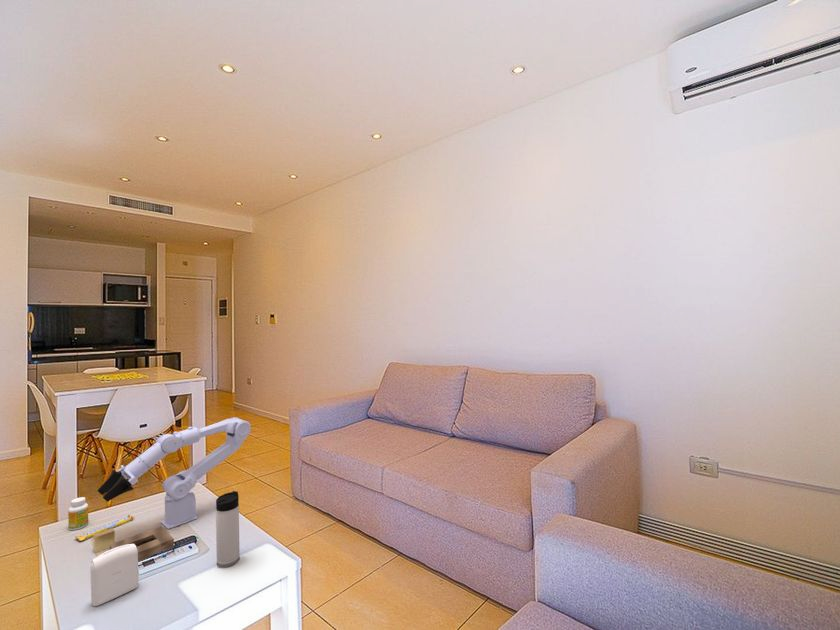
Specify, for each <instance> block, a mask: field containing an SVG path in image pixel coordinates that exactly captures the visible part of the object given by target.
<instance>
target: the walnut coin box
mask: <svg viewBox="0 0 840 630" xmlns="http://www.w3.org/2000/svg"><path fill="white" fill-rule="evenodd" d="M127 544H135V545H136V548H137V551H138V562H140V561H143V560H145V559H147V558H149V557H151V556H153V555H154V554H157V553H159V552H161V551H165V550H167V549H170V548H172V547H174V548H175V538H174V537H173V536H172V535H171V534H170V533H169V532H168V531H167V530H166V529H165V528H164V527H163V525H160V526H158V527H155V528H151V529H150V530H147V531H144V532H141V533H138V534H135V535H133V536H130V537H128V538H125V539H121V540H119V541H117V542H116V541H115V543H113V544H110V548H109V550H111V549H113V548H116V547H119V546H123V545H127Z"/></svg>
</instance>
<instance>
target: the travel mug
mask: <svg viewBox="0 0 840 630" xmlns="http://www.w3.org/2000/svg"><path fill="white" fill-rule="evenodd" d="M239 498H240V497H239V491H236V490H235V491H234V490H232V491H231V492H226V493H224V494H222V495H219V496H218V497H217V498H216V500H215V506H216V507H215V521H216V522H215V525H216V526H215V529H216V530H215V531H216V533H215V534H216V535H215V536H216V537H215V539H216V543H215V544H216V566H217V567H219V568H223V569H225V568H230V567H232V566H234V565H235V564H237V563H238V562H239V560H240V553H241V552H240V551H241V550H240V506H239V505H240V503H239Z"/></svg>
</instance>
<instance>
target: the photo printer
mask: <svg viewBox="0 0 840 630" xmlns="http://www.w3.org/2000/svg"><path fill="white" fill-rule="evenodd" d="M139 581H140V580H139V566H138V551H137V548H136V545H135V544H127V545H123V546H119V547H116V548H113V549H111V550H110V549H109V550H107V551H105V552H102V553H101V554H98V556H96V557H94V558H93V559H92V560H91V566H90V598H91V599H90V600H91V601H90V602H91V603H90V604H91V606H93V607H99V606H100V605H103V604H104V603H107V602H109V601H112V600H115V598H118V597H120V596H122V595H125V594H126V593H128V592H130V591H133V590H135V589H137V588H138V587H139V584H140V583H139Z"/></svg>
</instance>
